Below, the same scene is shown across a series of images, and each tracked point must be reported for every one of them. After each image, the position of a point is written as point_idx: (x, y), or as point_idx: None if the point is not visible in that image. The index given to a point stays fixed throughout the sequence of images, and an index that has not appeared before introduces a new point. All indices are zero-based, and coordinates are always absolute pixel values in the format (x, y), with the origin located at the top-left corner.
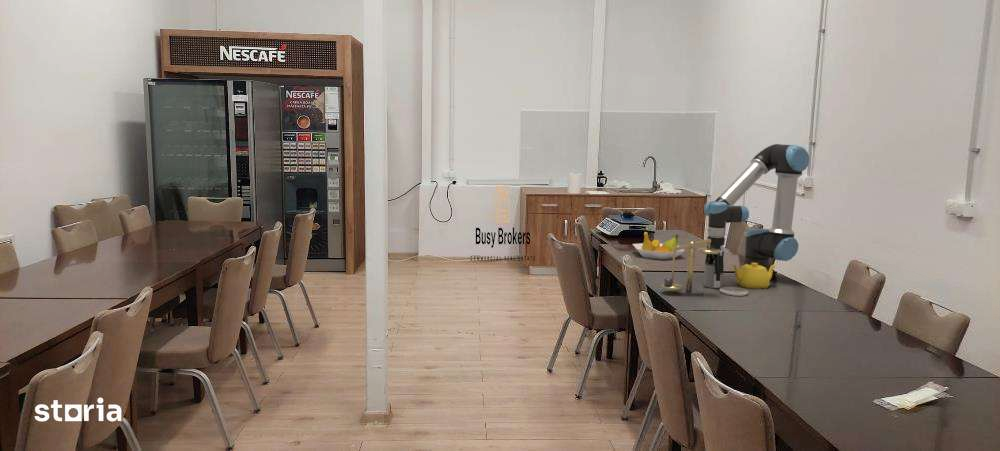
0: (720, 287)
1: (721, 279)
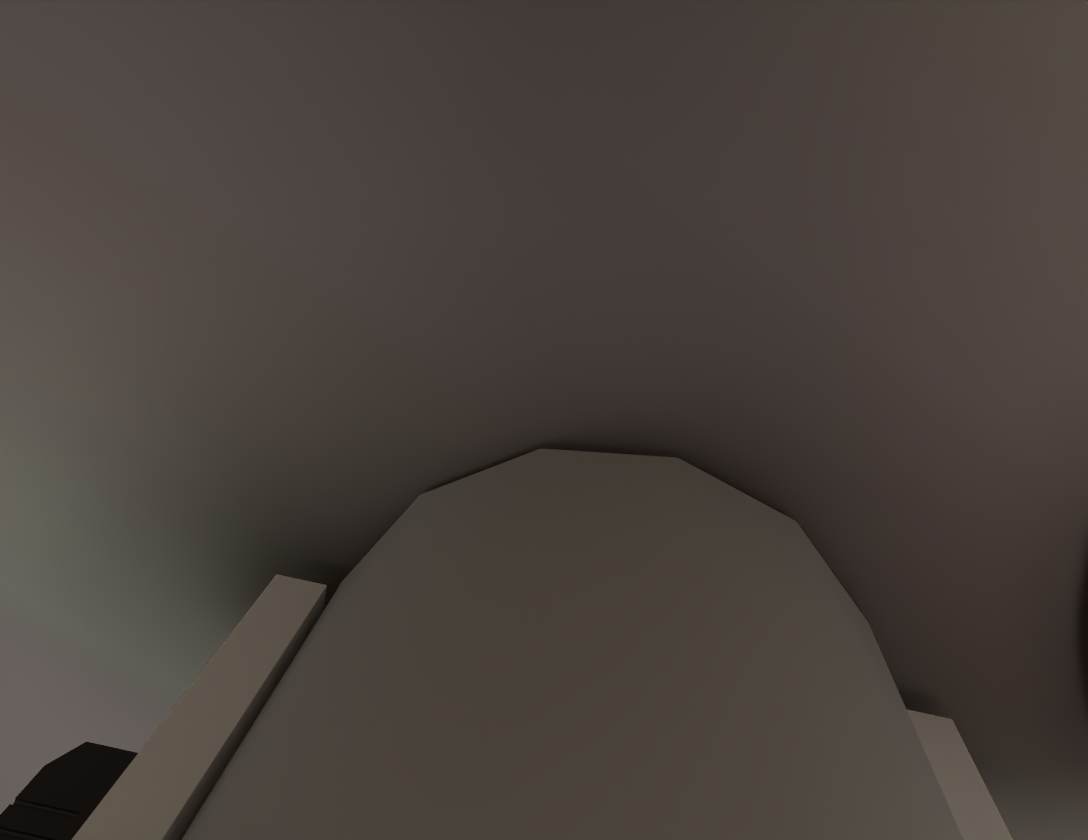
0: (873, 638)
1: (935, 786)
